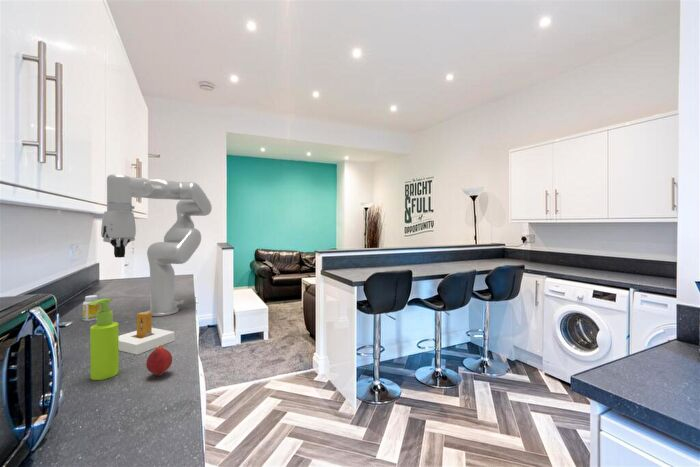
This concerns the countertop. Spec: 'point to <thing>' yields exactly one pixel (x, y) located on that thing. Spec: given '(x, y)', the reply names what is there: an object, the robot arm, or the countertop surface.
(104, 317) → the soap dispenser
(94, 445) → the countertop surface
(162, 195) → the robot arm
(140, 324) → the supplement box
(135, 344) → the socket block
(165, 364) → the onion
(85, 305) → the supplement bottle
